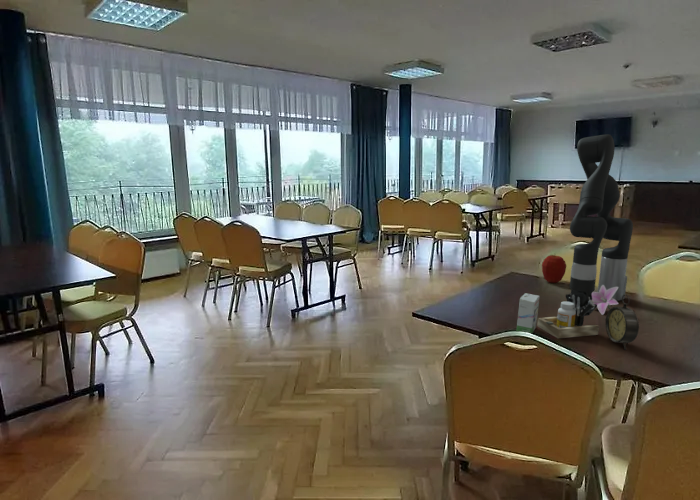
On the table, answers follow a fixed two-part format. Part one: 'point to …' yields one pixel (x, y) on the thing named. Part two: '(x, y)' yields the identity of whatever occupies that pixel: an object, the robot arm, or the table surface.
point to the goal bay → (551, 327)
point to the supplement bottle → (566, 315)
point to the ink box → (528, 313)
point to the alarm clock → (622, 324)
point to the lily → (604, 298)
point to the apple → (553, 268)
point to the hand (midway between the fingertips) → (578, 325)
